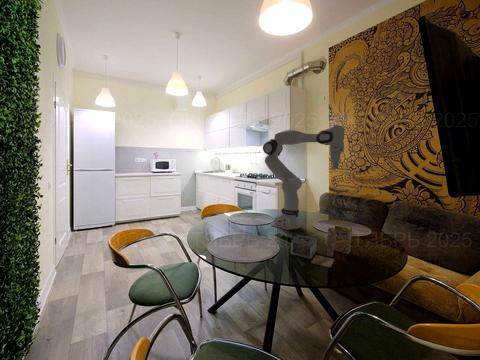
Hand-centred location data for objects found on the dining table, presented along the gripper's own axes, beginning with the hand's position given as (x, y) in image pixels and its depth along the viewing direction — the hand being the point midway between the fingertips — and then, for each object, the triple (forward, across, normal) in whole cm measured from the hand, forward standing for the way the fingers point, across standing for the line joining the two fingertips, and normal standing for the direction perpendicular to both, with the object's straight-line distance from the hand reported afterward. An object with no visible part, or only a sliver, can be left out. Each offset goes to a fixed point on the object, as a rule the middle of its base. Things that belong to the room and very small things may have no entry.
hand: (335, 169), depth 161 cm
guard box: (+47, +40, -10) cm, 63 cm away
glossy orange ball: (+44, +40, -10) cm, 60 cm away
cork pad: (+47, +47, +1) cm, 67 cm away
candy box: (+47, +27, +9) cm, 55 cm away
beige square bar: (+47, +37, +4) cm, 60 cm away
